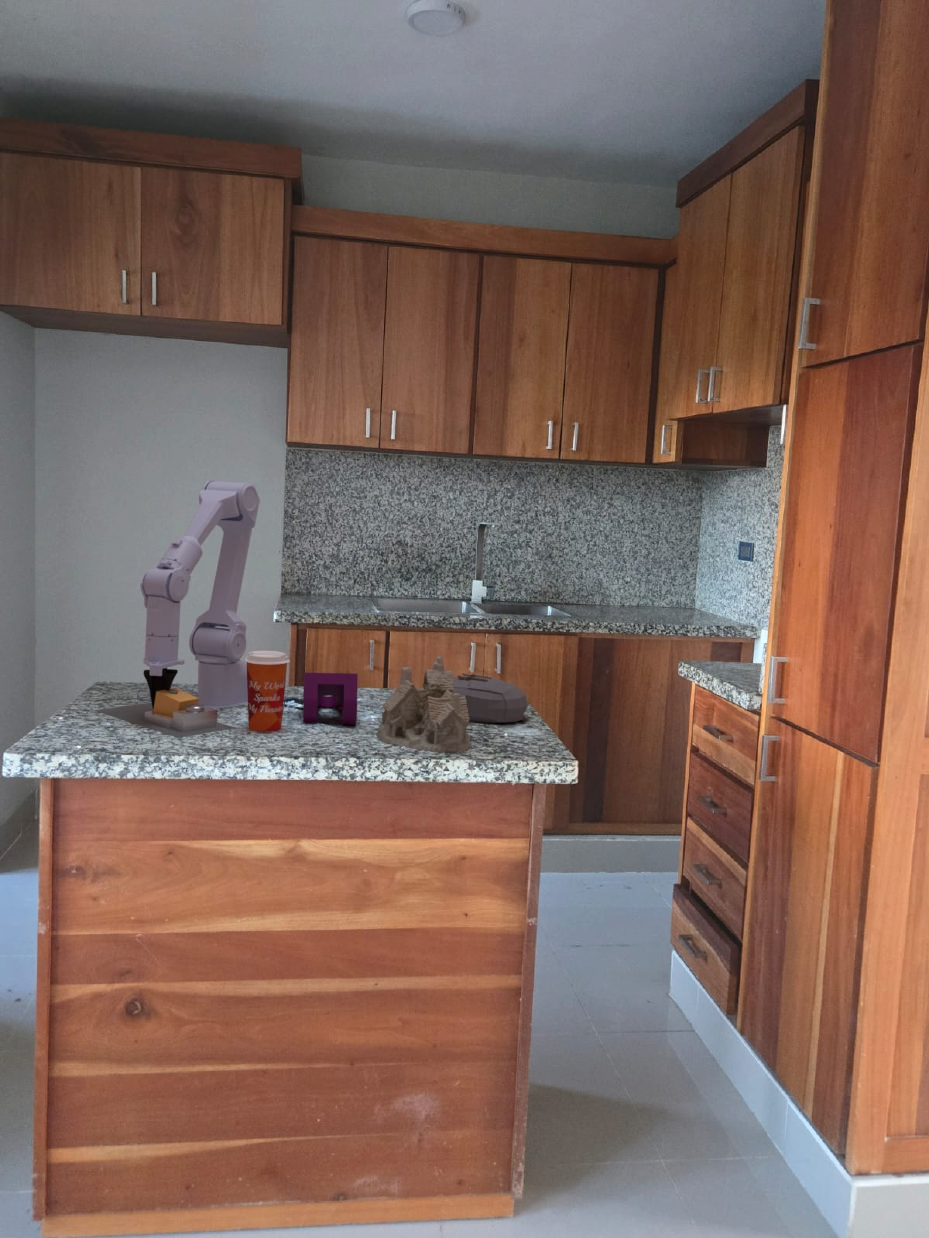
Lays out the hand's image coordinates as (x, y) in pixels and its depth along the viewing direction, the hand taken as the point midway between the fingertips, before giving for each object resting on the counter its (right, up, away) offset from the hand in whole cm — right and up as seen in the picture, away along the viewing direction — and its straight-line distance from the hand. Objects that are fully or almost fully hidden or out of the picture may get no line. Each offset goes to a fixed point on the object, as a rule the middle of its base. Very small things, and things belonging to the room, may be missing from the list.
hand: (158, 709), depth 181 cm
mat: (+1, -2, 0) cm, 2 cm away
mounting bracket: (+29, -3, +12) cm, 31 cm away
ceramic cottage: (+48, -6, -4) cm, 48 cm away
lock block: (+3, -1, -1) cm, 4 cm away
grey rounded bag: (+58, -3, +19) cm, 61 cm away
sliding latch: (+5, -2, -3) cm, 6 cm away
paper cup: (+20, -4, -3) cm, 20 cm away
